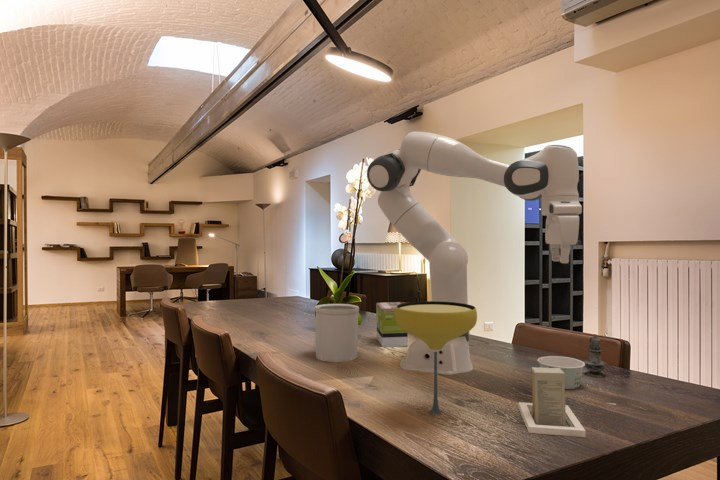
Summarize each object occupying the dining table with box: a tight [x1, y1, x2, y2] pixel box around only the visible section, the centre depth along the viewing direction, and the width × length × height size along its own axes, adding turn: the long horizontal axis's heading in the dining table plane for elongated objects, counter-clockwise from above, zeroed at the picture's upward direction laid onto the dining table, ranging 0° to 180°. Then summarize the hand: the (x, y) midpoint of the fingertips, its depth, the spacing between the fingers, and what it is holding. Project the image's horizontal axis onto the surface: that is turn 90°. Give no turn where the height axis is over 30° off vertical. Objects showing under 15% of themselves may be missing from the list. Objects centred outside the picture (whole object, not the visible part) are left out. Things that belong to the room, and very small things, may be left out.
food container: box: [537, 355, 586, 390], centre depth 130 cm, size 12×12×6 cm
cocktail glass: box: [395, 300, 478, 415], centre depth 107 cm, size 18×18×25 cm
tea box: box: [375, 301, 409, 348], centre depth 183 cm, size 15×10×15 cm
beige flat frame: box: [518, 401, 587, 438], centre depth 101 cm, size 11×14×2 cm
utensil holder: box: [314, 303, 360, 363], centre depth 159 cm, size 15×15×18 cm
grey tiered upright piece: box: [583, 333, 607, 378], centre depth 139 cm, size 6×6×12 cm
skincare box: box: [531, 366, 567, 427], centre depth 102 cm, size 6×4×12 cm
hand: (559, 262), depth 122 cm, fingers open, 8 cm apart
